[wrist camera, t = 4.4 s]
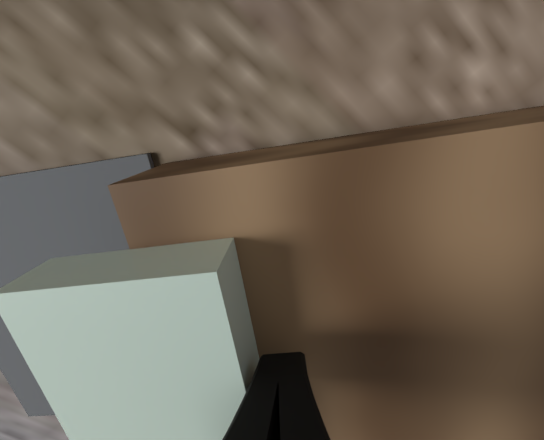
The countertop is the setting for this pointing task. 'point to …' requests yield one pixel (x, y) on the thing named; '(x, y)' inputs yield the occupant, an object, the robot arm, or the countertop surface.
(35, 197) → the mat
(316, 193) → the tan square board
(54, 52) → the countertop surface
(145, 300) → the pale green rectangular block
